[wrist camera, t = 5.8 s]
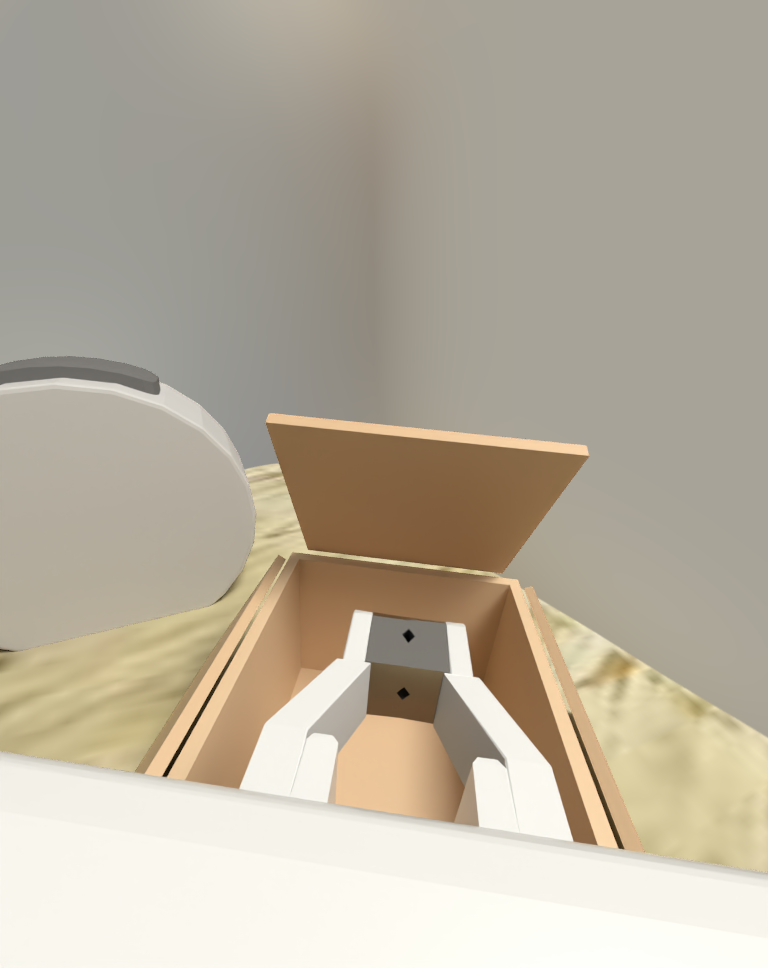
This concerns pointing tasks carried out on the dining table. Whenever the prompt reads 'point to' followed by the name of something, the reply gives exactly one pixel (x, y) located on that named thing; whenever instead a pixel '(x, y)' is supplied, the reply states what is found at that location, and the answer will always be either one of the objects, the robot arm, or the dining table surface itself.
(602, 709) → the dining table surface
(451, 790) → the carton
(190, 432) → the alarm clock
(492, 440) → the flap
